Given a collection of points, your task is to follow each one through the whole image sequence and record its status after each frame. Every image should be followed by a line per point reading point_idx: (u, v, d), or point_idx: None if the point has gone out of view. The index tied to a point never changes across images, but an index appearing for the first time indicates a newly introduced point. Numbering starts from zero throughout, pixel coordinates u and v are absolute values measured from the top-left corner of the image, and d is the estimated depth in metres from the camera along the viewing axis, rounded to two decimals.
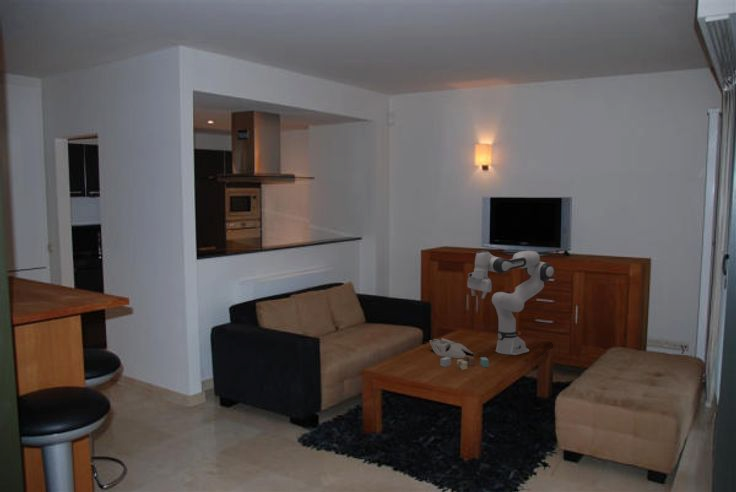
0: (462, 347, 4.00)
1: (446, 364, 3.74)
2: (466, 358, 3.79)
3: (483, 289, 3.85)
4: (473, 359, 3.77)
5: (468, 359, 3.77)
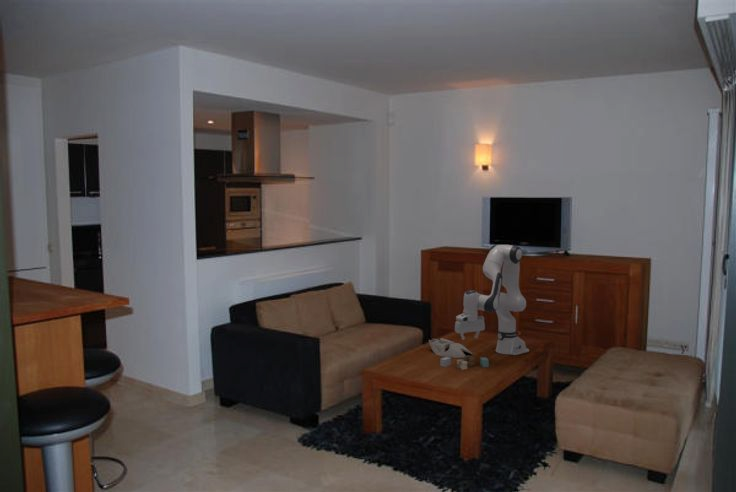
0: (461, 347, 4.01)
1: (446, 364, 3.74)
2: (466, 358, 3.79)
3: (480, 328, 3.78)
4: (473, 359, 3.77)
5: (468, 359, 3.77)
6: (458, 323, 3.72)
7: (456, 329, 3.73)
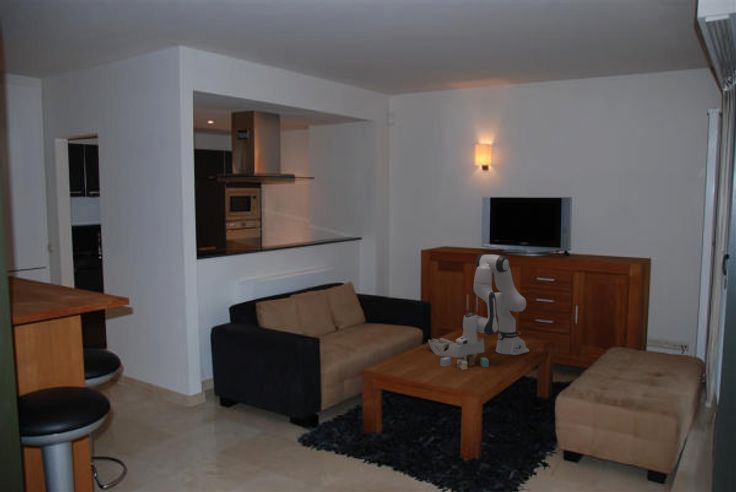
0: None
1: (446, 364, 3.74)
2: None
3: (480, 351, 3.80)
4: (473, 359, 3.77)
5: (468, 359, 3.77)
6: (458, 346, 3.73)
7: (456, 352, 3.74)
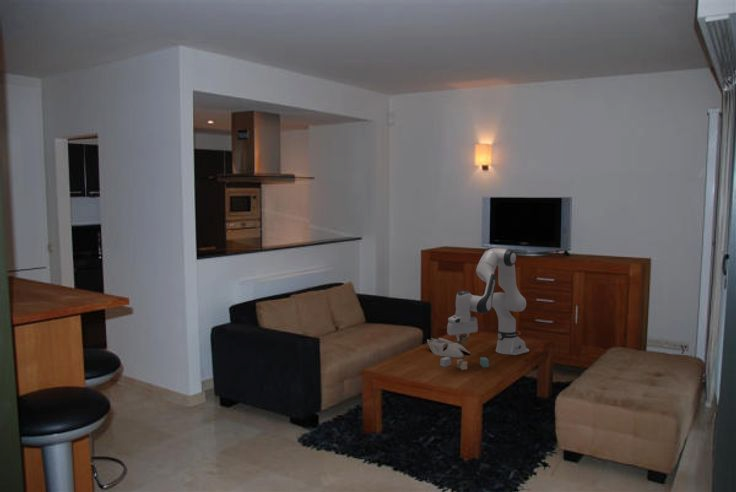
0: (459, 346, 4.02)
1: (446, 364, 3.74)
2: (459, 337, 3.69)
3: (473, 330, 3.70)
4: (466, 338, 3.67)
5: (461, 338, 3.67)
6: (450, 325, 3.63)
7: (448, 331, 3.64)
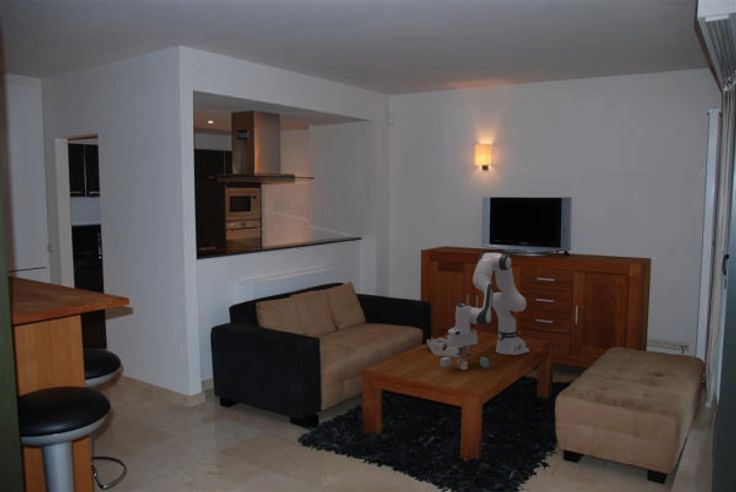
0: (459, 346, 4.02)
1: (446, 364, 3.74)
2: None
3: (473, 342, 3.71)
4: (466, 350, 3.67)
5: (461, 350, 3.68)
6: (450, 337, 3.64)
7: (448, 343, 3.65)
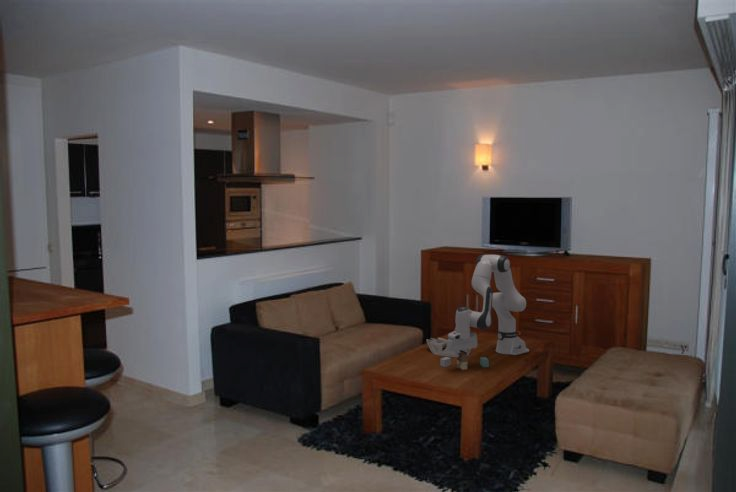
0: None
1: (446, 364, 3.74)
2: (459, 355, 3.70)
3: (473, 346, 3.71)
4: (466, 356, 3.68)
5: (461, 356, 3.69)
6: (450, 341, 3.64)
7: (448, 347, 3.65)
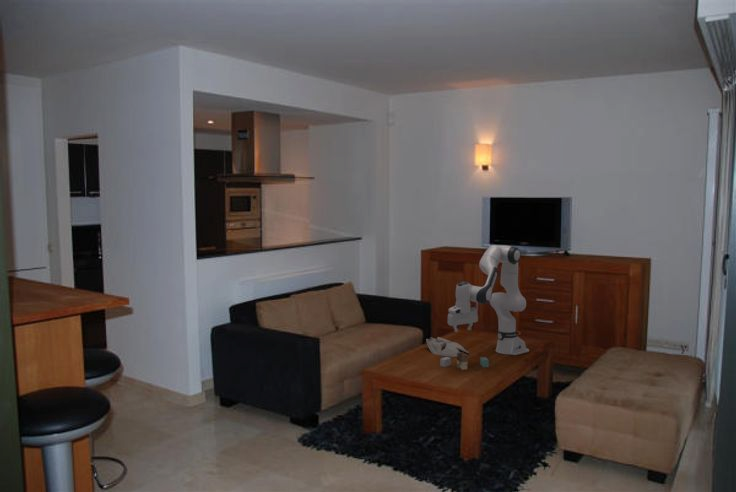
0: (458, 346, 4.03)
1: (446, 364, 3.74)
2: (459, 355, 3.70)
3: (473, 320, 3.73)
4: (466, 356, 3.68)
5: (461, 356, 3.68)
6: (451, 315, 3.66)
7: (449, 322, 3.67)
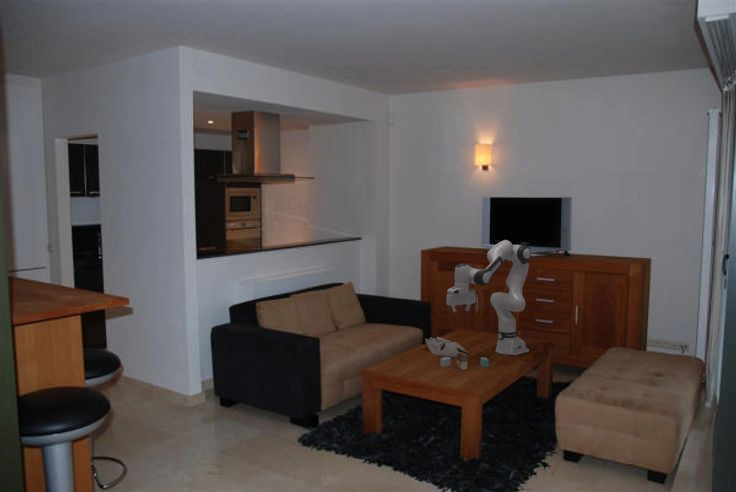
0: (457, 346, 4.03)
1: (446, 364, 3.74)
2: (459, 355, 3.70)
3: (471, 301, 3.86)
4: (466, 356, 3.68)
5: (461, 356, 3.68)
6: (449, 296, 3.79)
7: (447, 302, 3.80)
